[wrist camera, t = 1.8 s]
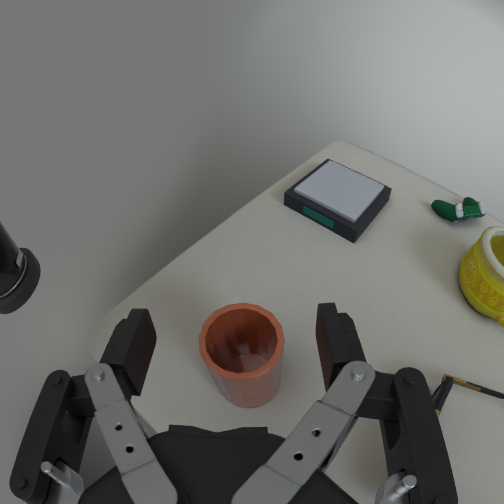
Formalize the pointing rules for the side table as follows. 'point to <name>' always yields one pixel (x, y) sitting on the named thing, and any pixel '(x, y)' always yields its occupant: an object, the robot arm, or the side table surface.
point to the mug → (485, 274)
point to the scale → (338, 198)
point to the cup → (243, 353)
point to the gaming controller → (460, 209)
